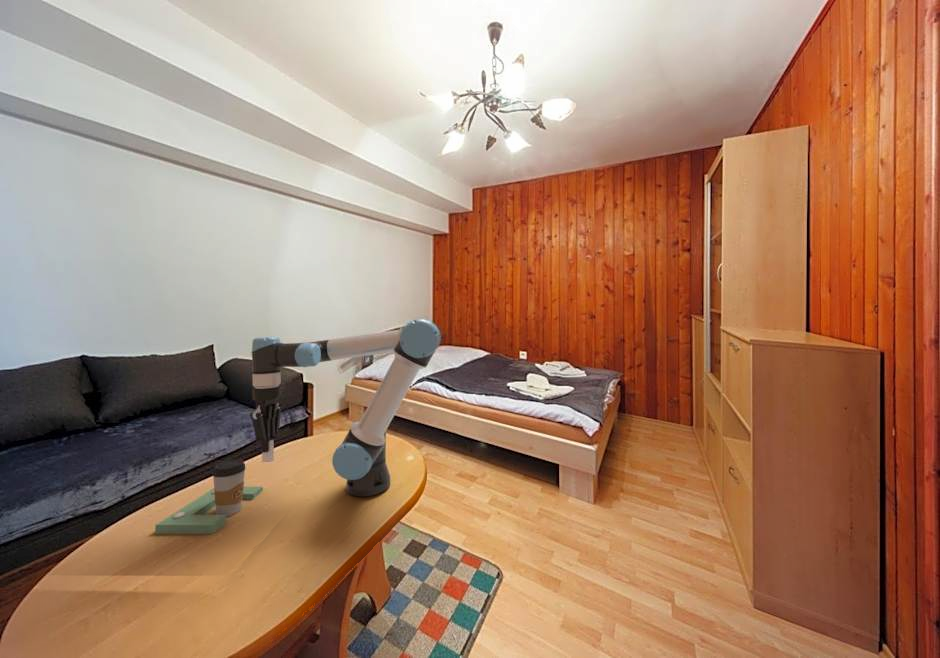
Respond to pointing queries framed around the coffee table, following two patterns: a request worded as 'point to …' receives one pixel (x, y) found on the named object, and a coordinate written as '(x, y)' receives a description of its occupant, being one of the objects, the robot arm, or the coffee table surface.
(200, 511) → the mint green u-shaped piece
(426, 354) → the robot arm
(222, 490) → the coffee cup
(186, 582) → the coffee table surface
